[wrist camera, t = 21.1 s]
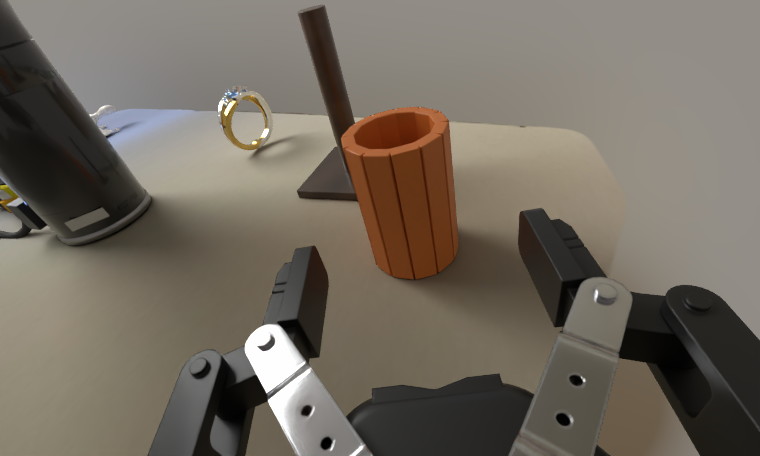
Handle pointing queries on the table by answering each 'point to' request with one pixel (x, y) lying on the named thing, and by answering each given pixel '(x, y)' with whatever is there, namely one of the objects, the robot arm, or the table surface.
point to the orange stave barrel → (405, 189)
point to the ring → (227, 115)
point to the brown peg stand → (328, 108)
